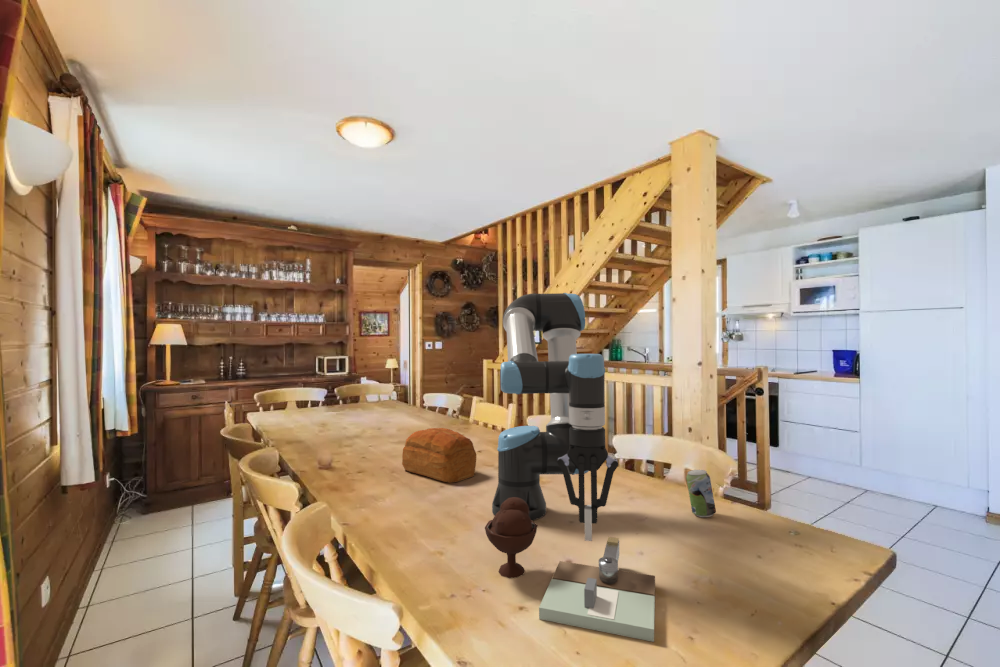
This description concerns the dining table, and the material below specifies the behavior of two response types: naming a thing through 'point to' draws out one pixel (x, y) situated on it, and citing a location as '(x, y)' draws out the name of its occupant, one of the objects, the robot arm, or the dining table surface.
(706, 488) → the beverage can
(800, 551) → the dining table surface
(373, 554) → the dining table surface
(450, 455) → the bread
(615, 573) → the bar
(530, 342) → the robot arm
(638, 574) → the strip
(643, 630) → the door slab
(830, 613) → the dining table surface
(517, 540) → the ice cream bowl
